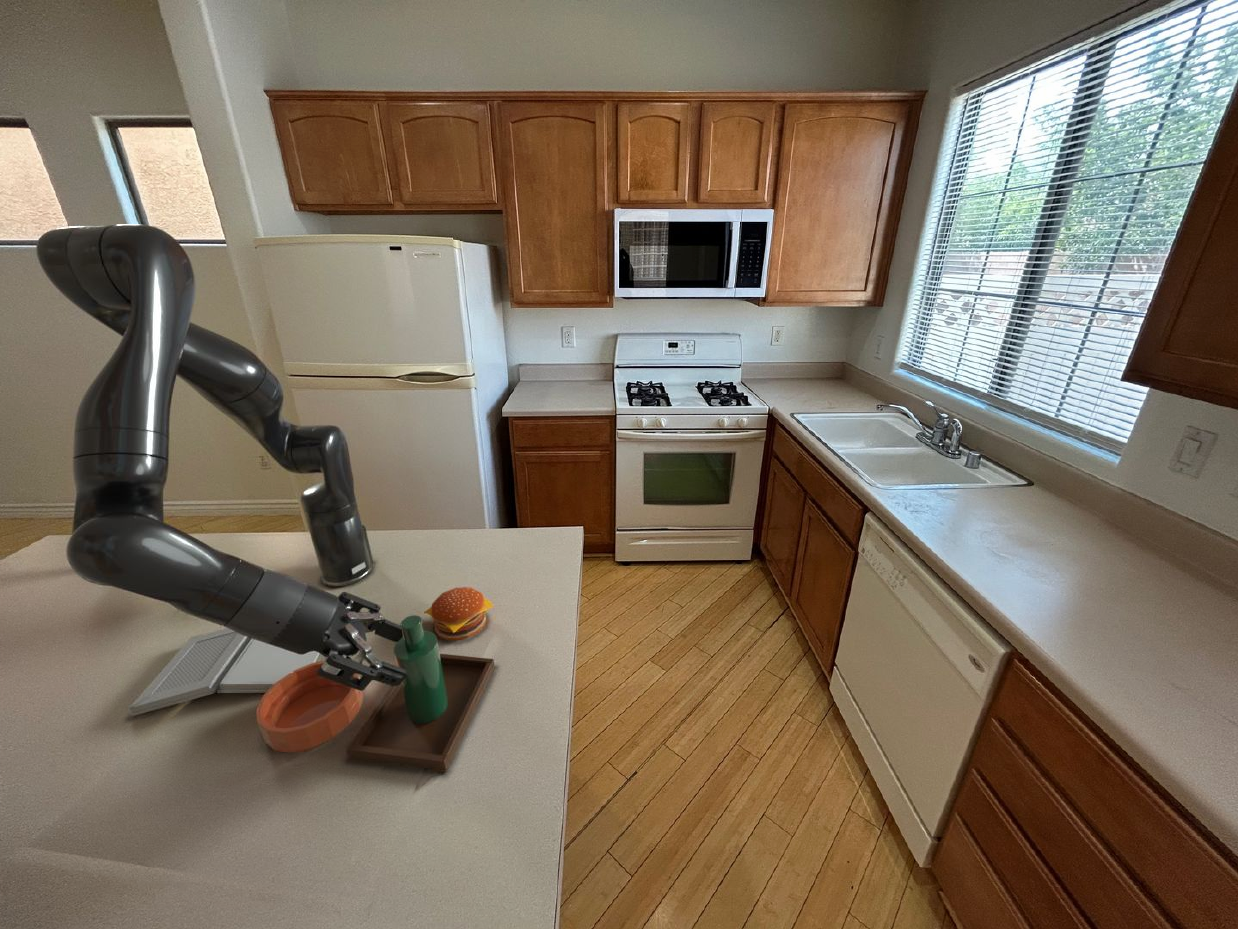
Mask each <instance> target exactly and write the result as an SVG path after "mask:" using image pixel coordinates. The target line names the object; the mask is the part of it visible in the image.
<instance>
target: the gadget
mask: <svg viewBox="0 0 1238 929" xmlns="http://www.w3.org/2000/svg"><path fill="white" fill-rule="evenodd" d="M320 655H321V654H320V653H318V652H316V651H311V652H308V653H306V654H302V655H300V654H297V653H294V652H291V651H288V650H285V649H282V648H279V647H276V646H273V645H270V644H267V643H264V642H261V641H258V640H255V639H252V638H249V637H246V636H243V635H241V634H239V633H237V632H235V631H233V630H231V629H229V628H227V627H224V628H223V629H222V628H221V629H217V630H215V631H211V632H207V633H203V634H198V635H196V636H192V637H190V638H189V639H188V640H187V641H186V642H185V643H184V645H182V647H181V648H180V649H179V650H178V651H177V652H176V654H175V655H174V656H173V657H172V658H171V659H170V660H169V662H168V663H167V664H166V665H165V667H163V668H162V670H161V671H160V672H159V673H158V674H157V675H156V676H155V677H154V679H153V680H152V681H151V682H150V683H149V684H148V685H147V686H146V688H145V689H144V690H143V692H141V694H139V696H138V697H137V698H136V699H135V701H134V702H133V703H132V704H131V705H130V706H129V708H128V709H129V711H130V713H129V715H130V717H135V716H138V715H142V714H145V713H149V712H152V711H156V710H159V709H163V708H166V707H170V706H175V705H178V704H181V703H185V702H188V701H192V700H196V699H199V698H202V697H206V696H209V695H212V694H215V693H217V694H244V693H245V694H249V693H250V694H252V693H253V694H255V693H261V694H263V693H264V694H265V693H266V692H267V691H268V690H269V689H270V688H271V687H272V686H273V685H274V684H275V683H276V682H277V681H279V680H280V679H282V678H283V677H285V676H287V675H288V674H290V673H291V672H293V671H294V670H296V669H299V668H301V667H304V666H306V665H309V664H311V663H315V662H317V660H318V659H319V657H320Z"/></svg>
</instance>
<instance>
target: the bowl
mask: <svg viewBox="0 0 1238 929" xmlns="http://www.w3.org/2000/svg"><path fill="white" fill-rule="evenodd" d="M323 663H324V660H321V661H316V662H315V663H311V664H309V665H306V666H304V667H301V668H299V669H296V670H294V671H293V672H291V673H290V674H288V675H287V676H285V677H283V678H282V679H280V680H279V681H277V682H276V683H275V684H274V685H273V686H272V687H271V688H270V689H269V690H268V691H267V692H266V693H264V695H262V697H261V699H260V701H259V703H258V705H257V707H256V709H255V714H256V722H257V726H258V728H259V731H260V733H261V736H262V738H263V740H264V743H265V744H266V745H267V746H268V747H270V748H271V749H272V750H273V751H275V752H282V753H290V754H294V753H297V752H302V751H307V750H312V749H314V748H316V747H318V746H320V745H322V744H324V743H326V742H328V741H331V740H332V739H334V738H335V737H337V735H339V734H340V733H341V732H342V731H343V730H345V729H346V728H347V727H349V726H350V725H351V723H352V722H353V721H354V719H355V718H356V716H357V715H358V714H359V712H360V711H361V709H362V705H363V701H364V697H365V696H364V690H363V691H360V690H357V689H354V688H351V687H349V686H346V685H343V684H340V683H338V682H335V681H332V680H330V679H327V678H324V677H321V676H319V675H318V673H317V670H318V669H319V668H320V667H321V666H322V664H323ZM352 677H355V678H358V679H360V676H359V675H358V674H357V673H355V674H354V675H353V676H352Z"/></svg>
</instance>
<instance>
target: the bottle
mask: <svg viewBox="0 0 1238 929" xmlns="http://www.w3.org/2000/svg"><path fill="white" fill-rule="evenodd" d="M400 626H401V629H402V633H403V638H401V639H400V640H399V641H398V642H396V643H395V645H394V648H393V654H394V659H395V660H394V661H395V665H396V666H397V667H400V668H403V669H405V670H406V671H407V676H406V678H405V679H404V680H403V681H402V682H401V686H402V690H403V695H404V699H405V704H406V708H407V712H408V717H409V719H410V720H411V721H412V722H414V723H416V724H427V723H430V722H433V721H435V720H436V719H438V718H439V717H440V716H442V715H443V713H444V712H445V711H446V709H447V707H448V697H447V692H446V686H445V681H444V675H443V670H442V664H441V658H440V654H441V653H440V648H439V647H440V646H439V642H438V637H437V634H436V633H434V632H432V631H429V630H424V626H423V621H422V617H421V616H419V615H414V614H413V615H410V616H407V617H405V618H403V619H402V620H401V622H400Z"/></svg>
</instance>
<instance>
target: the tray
mask: <svg viewBox="0 0 1238 929" xmlns="http://www.w3.org/2000/svg"><path fill="white" fill-rule="evenodd" d="M440 658H441V664H442V670H443V675H444V681H445V686H446V692H447V697H448V707H447V709H446V711H445V712H444V713H443V715H442V716H440V717H439V718H438V719H436V720H435V721H433V722H430V723H427V724H416V723H414V722H412V721H411V720H410V719H409V717H408V712H407V708H406V704H405V699H404V695H403V690H402V686H401V684H400V685H398V686H389V688H388V689H387V691H386V692H385V694H384V695H383V696H382V698H381V699H380V701H379V702H378V704H377V705H376V706H375V708H374V709H373V711H372V712H371V714H370V715H369V716H368V718H367V719H366V721H365V723H364V724H363V726H361V728H360V729H359V731H358V732H357V734H356V735H355V737H354V738H353V739H352V741H351V742H350V743H349V745H348V747H347V748H346V753H347V756H348V758H349V759H358V760H364V761H374V762H380V763H388V764H389V763H390V764H397V765H405V766H412V767H421V768H424V771H432V772H439V773H447V772H448V770H449V767H450V765H451V764H452V761H453V759H454V757H455V755H456V753H457V750H458V748H459V746H460V745H461V743H462V740H463V737H464V736H465V733H466V731H467V729H468V727H469V724H470V723H471V720H472V718H473V716H474V714H475V712H476V710H477V708H478V705H479V703H480V701H481V699H482V697H483V695H484V693H485V691H486V689H487V686H488V684H489V682H490V680H491V679H492V678H491V677H492V675H493V673H494V671H495V669H496V666H495V659H494V658H486V657H477V656H467V655H456V654H449V653H448V654H445V653H440Z"/></svg>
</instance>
